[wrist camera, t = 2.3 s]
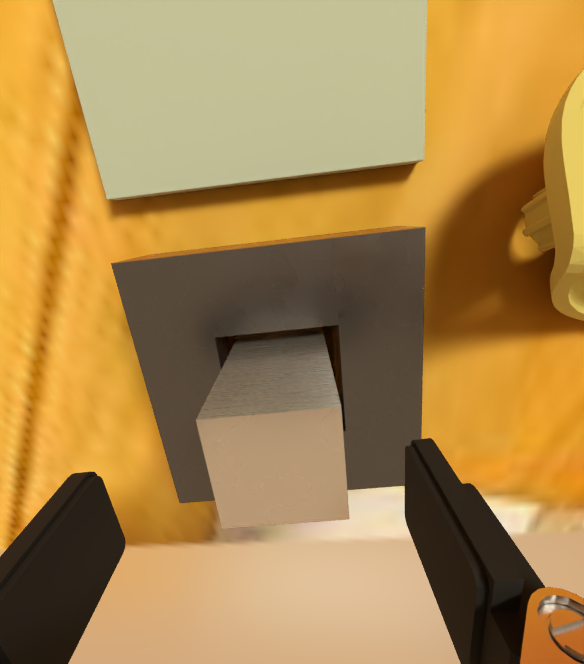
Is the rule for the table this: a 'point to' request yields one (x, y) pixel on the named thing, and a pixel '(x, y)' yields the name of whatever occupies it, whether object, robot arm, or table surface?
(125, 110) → the sage mat
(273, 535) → the table surface
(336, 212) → the table surface
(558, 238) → the plastic component
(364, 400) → the socket block
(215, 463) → the beige peg
